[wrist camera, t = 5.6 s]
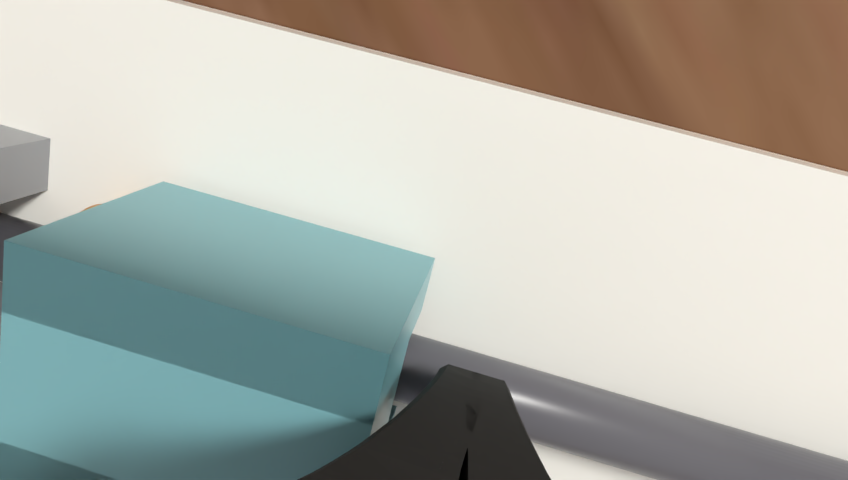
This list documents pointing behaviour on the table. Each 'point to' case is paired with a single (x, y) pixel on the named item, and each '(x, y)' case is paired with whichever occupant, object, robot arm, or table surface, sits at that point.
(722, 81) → the table surface
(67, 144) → the cable board
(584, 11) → the table surface
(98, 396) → the sleeve
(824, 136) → the table surface
